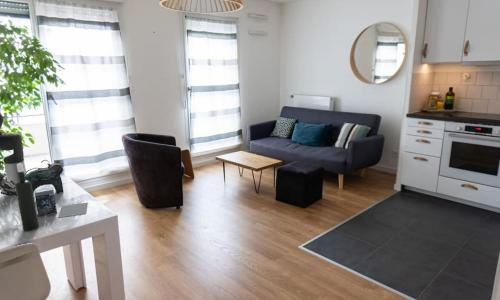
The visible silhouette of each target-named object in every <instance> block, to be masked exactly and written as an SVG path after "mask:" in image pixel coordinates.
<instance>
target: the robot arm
mask: <svg viewBox="0 0 500 300" xmlns="http://www.w3.org/2000/svg"><path fill="white" fill-rule="evenodd" d="M3 116H4V115H2V113H1V112H0V129H2V126H3V124H4V117H3ZM0 151H12V154H8V155H6V156H4V158H3V164H4V169H5V174H4V173H2V172H0V194H1V195H4V196H9V197H17V193H16V188H15V185H16V183H17V182H19V181H20V179H19V174H18V170H17V164H19V163H21V164H22V163H23V168H24V175H25V176H26V175H27V174H28V173H26V171H27V169H26V164H25V157H24V153H25V152H24V148H23V139H22V137H21V134H19V133H16V132H13V133H11V132H10V133H8V132H7V133H3V132H2V131H1V130H0ZM25 173H26V174H25ZM5 175H6V179H5Z"/></svg>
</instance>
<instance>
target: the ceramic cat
mask: <svg viewBox="0 0 500 300" xmlns="http://www.w3.org/2000/svg"><path fill="white" fill-rule="evenodd" d="M43 162H48V163H47V165H48V166H47V167H33V168H30V169H28V170H26V173H25V174H27V175H26V176H25V180H28V181H30V182H31V184H32V190H33V196H34V195H35V191H36V190H37V189H38V188H39V187H42V186H47V185H48V186H49V185H50V186H51V185H52V186H53V188H54V191H55V193H56V194H60V193H64V186H63V181H62V177H61V174H62V173H63V172H64V171H63V170H64V169H63V166H62V164H61V163H60V161H59V160H56V162H54V163H50V161H49V160H48V159H44V160H41V162H40V163H41V164H42V163H43ZM34 169H35V170H34ZM31 170H32V171H31Z"/></svg>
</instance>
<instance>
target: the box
mask: <svg viewBox="0 0 500 300" xmlns="http://www.w3.org/2000/svg"><path fill="white" fill-rule="evenodd" d="M34 195H35V197H34V199H35V206H36V212H37V217H42V216H47V215H52V214H57V213H58V212H57V203H56V197H55V189H49V190H44V191H39V192H34Z"/></svg>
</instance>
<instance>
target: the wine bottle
mask: <svg viewBox="0 0 500 300" xmlns="http://www.w3.org/2000/svg"><path fill="white" fill-rule="evenodd" d="M17 170H18V174H19V179H20V181H19V182H17V183H16V185H15V188H16V193H17V196H16V197H17V198H16V199H17V203H18V209H19V213H20V219H21V225H22V230H23V231H24V232H32V231H35V230H38V228H39V227H40V226H39V220H38V212H37V207H36V201H35V197H34V196H33V190H32V184H31V182H30V181H28V180H25V175H24V168H23V163H22V164H21V163H19V164H17Z"/></svg>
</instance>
